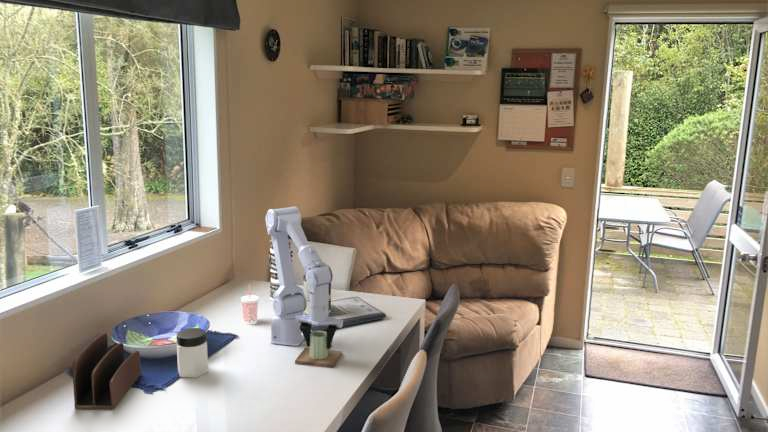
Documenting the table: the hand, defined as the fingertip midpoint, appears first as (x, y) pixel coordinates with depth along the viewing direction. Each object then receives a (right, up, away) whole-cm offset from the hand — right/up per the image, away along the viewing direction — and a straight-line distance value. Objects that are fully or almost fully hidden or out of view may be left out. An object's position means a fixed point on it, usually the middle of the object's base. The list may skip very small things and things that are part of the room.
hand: (318, 346), depth 190 cm
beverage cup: (-27, +2, +29) cm, 40 cm away
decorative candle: (-20, +7, +53) cm, 58 cm away
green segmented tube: (0, -3, +1) cm, 3 cm away
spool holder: (0, -4, +1) cm, 4 cm away
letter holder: (-54, -8, -22) cm, 59 cm away
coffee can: (-5, +4, +40) cm, 40 cm away
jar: (-36, -5, -10) cm, 37 cm away
